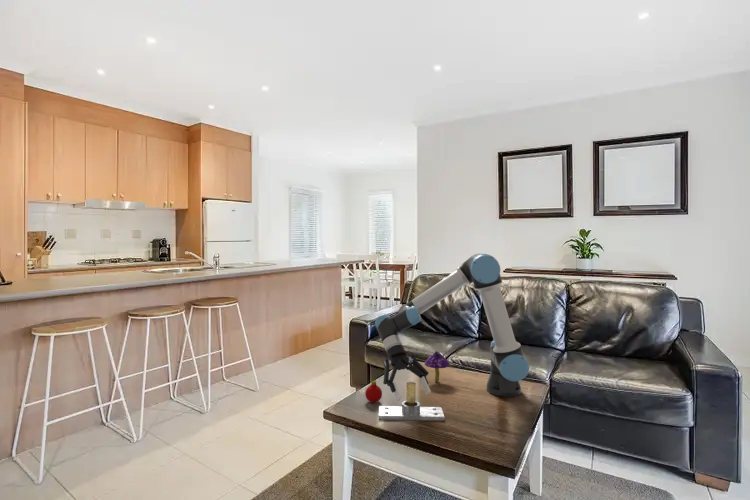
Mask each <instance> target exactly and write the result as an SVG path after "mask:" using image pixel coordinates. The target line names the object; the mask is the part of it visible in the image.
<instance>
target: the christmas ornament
mask: <svg viewBox="0 0 750 500" xmlns="http://www.w3.org/2000/svg"><path fill="white" fill-rule="evenodd" d="M370 383H371V384H370V385H369V386H368V387H367V388H366V390H365V394H364V395H365V398H366V400H367V401H369V402H370V403H377V402H379V401H380V400H381V399H382V396H383V391H382V389H381V387H380V386H379V385H377V381H376V379H374V378H372V380H371V382H370Z"/></svg>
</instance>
